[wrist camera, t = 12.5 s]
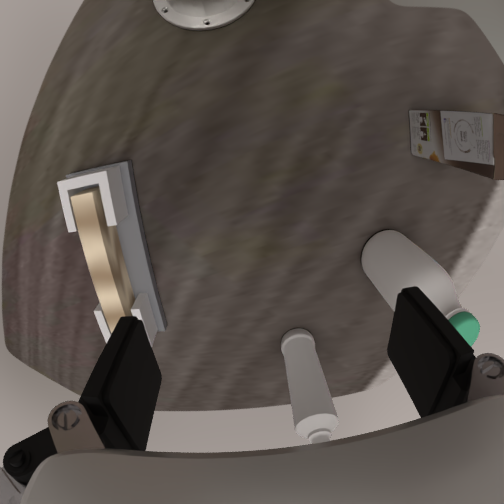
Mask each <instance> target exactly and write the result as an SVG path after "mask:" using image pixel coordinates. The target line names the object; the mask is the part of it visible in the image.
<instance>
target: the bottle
mask: <svg viewBox="0 0 504 504" xmlns="http://www.w3.org/2000/svg"><path fill="white" fill-rule="evenodd" d="M281 351H282V353H283V355H284V358H285V365H286V372H287V378H288V385H289V392H290V399H291V406H292V412H293V419H294V426H295V431H296V433H297V434H298V435H299V436H301V437H304V438H307V439H308V440H309V442H311V443H312V444H315V443H321V442H327V441H330V440H329V438H330V437H331V433H332V432H333V430H334V429H335V428H336V427H337V426H338V423H339V420H338V416H337V413H336V410H335V407H334V404H333V401H332V398H331V395H330V392H329V389H328V386H327V383H326V380H325V377H324V374H323V371H322V368H321V365H320V362H319V359H318V356H317V353H316V350H315V342H314V339H313V336H312V335H311V334H310V333H309V332H308V331H307V330H305V329H302V328H296V329H293V330H290V331H288V332H287V333H285V335H284V336H283V338H282V341H281Z"/></svg>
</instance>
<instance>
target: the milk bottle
mask: <svg viewBox="0 0 504 504" xmlns="http://www.w3.org/2000/svg"><path fill="white" fill-rule="evenodd" d="M361 262H362V267H363V270H364V272H365V273H366V275H367V276H368V278H369V279H370V280H371V282H372V283H373V284H374V286H375V287H376V288H377V290H378V291H379V292H380V294H381V295H382V296H383V297H384V299H385V300H386V301H387V303H388V304H389V305H390V307H391V308H392V309H393V311H394V312H395V306H396V300H397V295H398V293H401V290H402V289H403V288H408V287H413V286H417V287H419V289H420V290H421V291H422V292H423V293H424V294H425V295H426V296H427V297H428V298H429V299H430V300H431V301H432V303H433V304H434V305H435V306H436V307H437V308H438V309H439V310H440V311H441V313H442V314H443V315H444V316H445V317H446V318H447V319H448V320H449V322H450V323H451V324H452V325H453V326H454V327H455V328H456V330H457V331H458V332H459V333H460V334H461V336H462V337H463V338H464V339H465V340H466V341H467V343H468V344H469V345H470V346H472V345H473V343H474V342H475V340H476V339H477V337H478V334H479V330H480V325H479V322H478V320H477V319H476V318H475V317H474V316H473V315H472V314H471V313H470V312H469V311H468V310H467V309H465V308H462V307H461V304H460V302H459V300H458V297H457V293H456V289H455V286H454V283H453V281H452V279H451V278H450V276H449V274H448V273H447V272H446V271H445V269H444V268H443V267H441V266H440V265H439V264H438V263H437V262H436V261H435V260H434V259H433V258H432V257H430V256H429V255H428V254H427V253H426V252H424V251H423V250H422V249H421V248H419V247H418V246H417V245H416V244H414V243H413V242H412V241H411V240H409V239H408V238H407V237H406V236H404V235H403V234H401V233H400V232H398V231H395V230H385V231H381V232H379V233H377V234H375V235H374V236H373V237H372V238H370V239H369V241H368V242H367V243H366V245H365V247H364V249H363V252H362V258H361Z"/></svg>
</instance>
